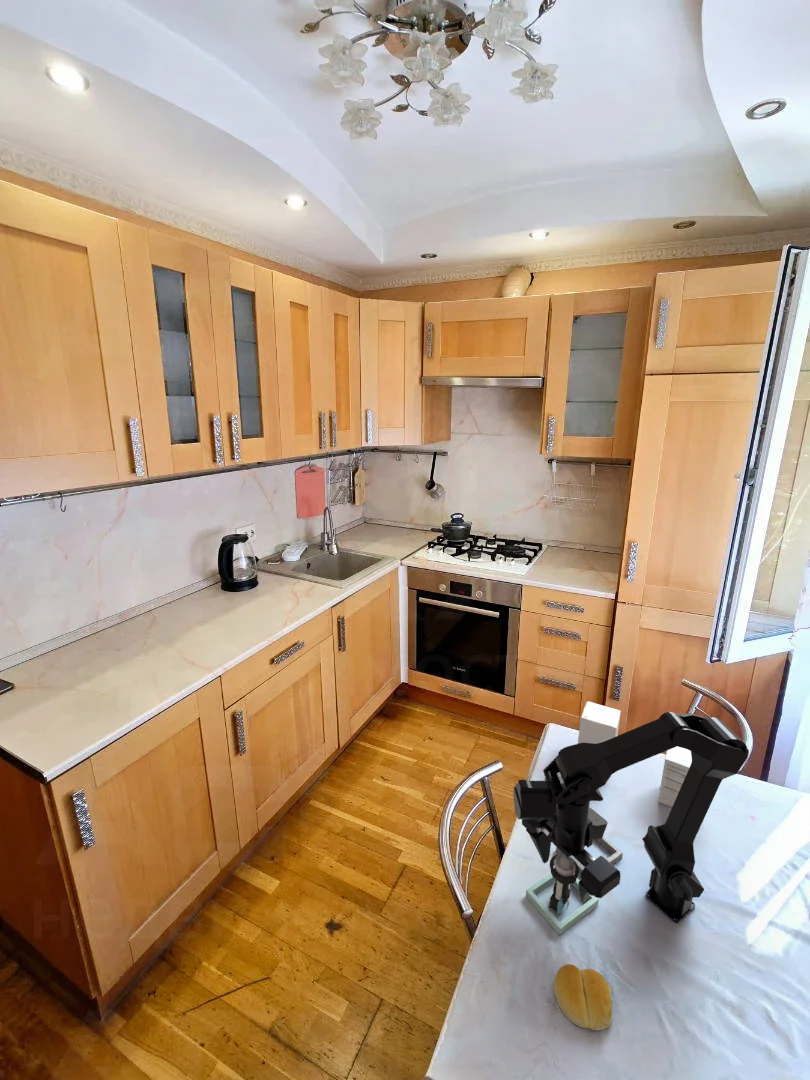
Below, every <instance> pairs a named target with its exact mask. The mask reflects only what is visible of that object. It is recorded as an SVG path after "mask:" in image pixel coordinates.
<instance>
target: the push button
mask: <svg viewBox="0 0 810 1080" xmlns="http://www.w3.org/2000/svg"><path fill="white" fill-rule="evenodd" d="M549 869H550V873H551V874H552V876H553V877H554V878H555V879H556V880H555V881H554V883H553V890H552V894H551V895H550V898H549V905H548V906H549V907H548V909H549V908H550V910H552V911H554V912H555V913H557V914H558V915H561V913H562V911H563V909H564V908H565V906H566V910H567V909H568V908H569V907H570V901H571V899H570V897H571V885H573V884H574V883H575V882H576V880H577V878H578V879H579V877H580V876H579V875H580V873H579V867H578V865H577V863H576V862H575V861H574V860H573V859H572V858H570V857H569V858H568V857H567V856H566V855H564V854H559V853H558V854H554V855H553V856H552V857H550V860H549ZM573 874H574V875H573Z"/></svg>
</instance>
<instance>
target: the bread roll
mask: <svg viewBox="0 0 810 1080" xmlns="http://www.w3.org/2000/svg"><path fill="white" fill-rule="evenodd" d="M553 991H554V996H555V999H556V1002H557V1005H558V1006H559V1008H560V1009H561V1011H562V1013H563V1015H565V1018H567V1019H568V1020H569V1021H570V1022H571V1023H573V1024H574V1025H576V1026H577V1027H579V1028H582V1029H589V1030H592V1031H604V1030H606V1029H608V1028H609V1027H611V1024H612V1022H613V1020H614V1016H613V1015H614V1013H613V999H612V989H611V985H609V982H607V980H606V979H605V977H604V976H603V975H602V974H601V973H600V972H598V971H596V970H594V969H592V968H586V969H583V970H581V969H580V968H579V967H578V966H576V965H575V964H571V963H570V964H568V963H567V964H564V965H563V966H561V967H560V968H559V970H557V972H556V975H555V977H554V980H553Z"/></svg>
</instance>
